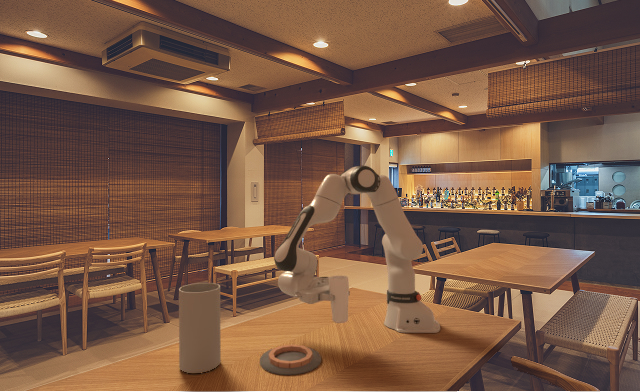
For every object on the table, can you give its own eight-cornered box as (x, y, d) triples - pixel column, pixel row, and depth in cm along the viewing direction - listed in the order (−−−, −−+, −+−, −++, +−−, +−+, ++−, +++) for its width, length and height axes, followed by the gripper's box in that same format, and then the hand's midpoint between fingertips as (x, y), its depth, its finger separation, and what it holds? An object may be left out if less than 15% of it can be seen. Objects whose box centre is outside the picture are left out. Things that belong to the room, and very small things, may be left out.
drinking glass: (348, 324, 123) (346, 279, 123) (328, 324, 124) (326, 279, 125) (351, 318, 130) (349, 275, 130) (332, 318, 131) (330, 275, 131)
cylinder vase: (182, 378, 110) (181, 294, 110) (177, 362, 121) (176, 285, 121) (224, 369, 116) (224, 289, 116) (216, 354, 127) (215, 281, 127)
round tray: (326, 350, 129) (326, 344, 129) (312, 378, 110) (312, 370, 110) (272, 345, 134) (272, 339, 134) (249, 371, 115) (249, 363, 114)
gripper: (291, 285, 128) (320, 292, 119) (330, 275, 143) (359, 281, 134) (291, 303, 128) (320, 312, 119) (330, 292, 143) (359, 299, 134)
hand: (341, 296), depth 127 cm, fingers closed on drinking glass, 6 cm apart
